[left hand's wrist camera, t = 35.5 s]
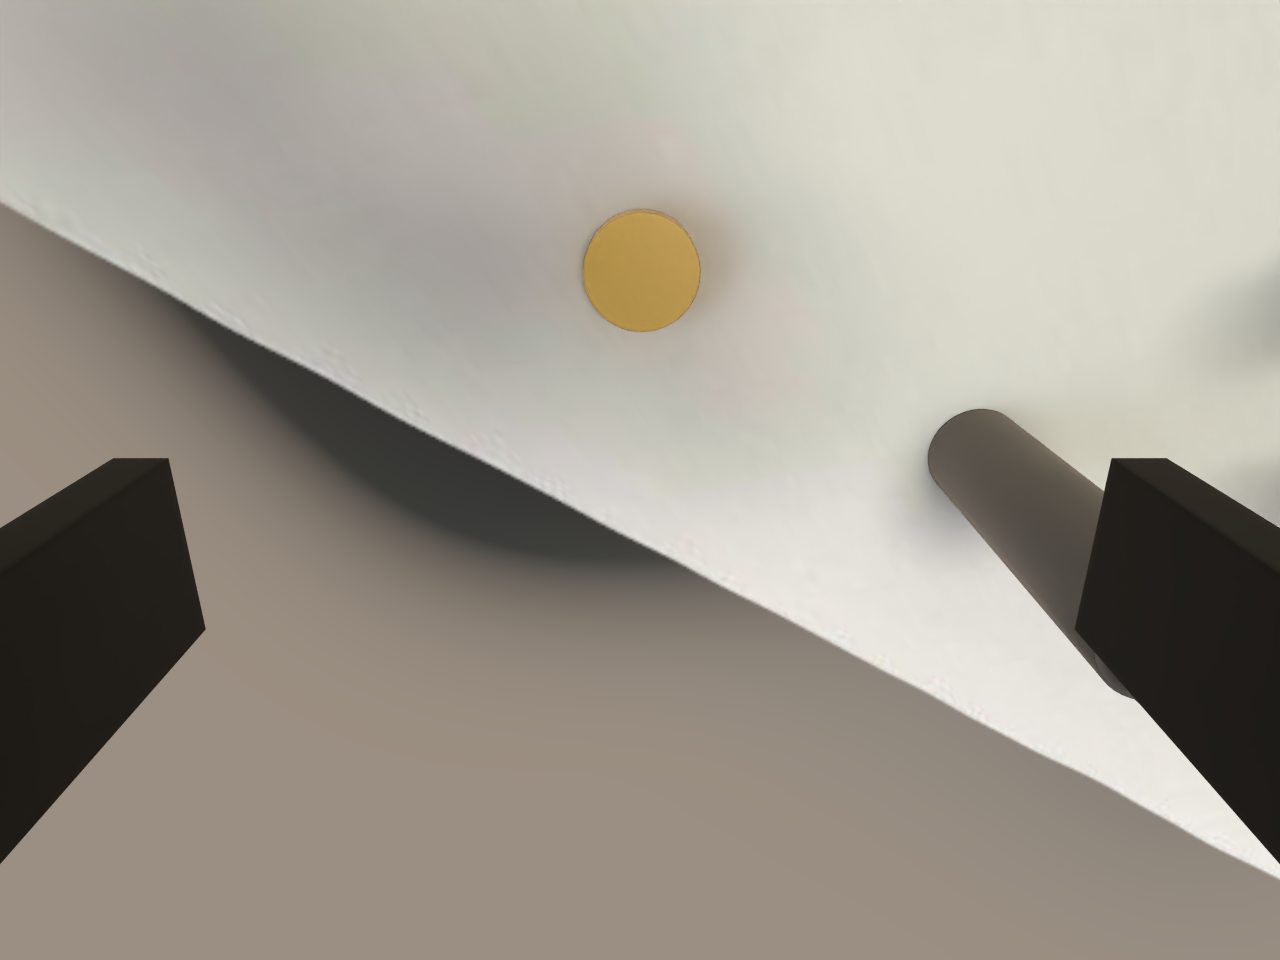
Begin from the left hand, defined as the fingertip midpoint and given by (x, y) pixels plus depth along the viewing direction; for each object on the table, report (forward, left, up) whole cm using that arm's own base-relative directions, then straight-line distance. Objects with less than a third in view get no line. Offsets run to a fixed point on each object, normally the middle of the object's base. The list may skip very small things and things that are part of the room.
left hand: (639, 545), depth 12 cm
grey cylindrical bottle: (+19, 0, -30) cm, 35 cm away
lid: (0, 0, -28) cm, 28 cm away
